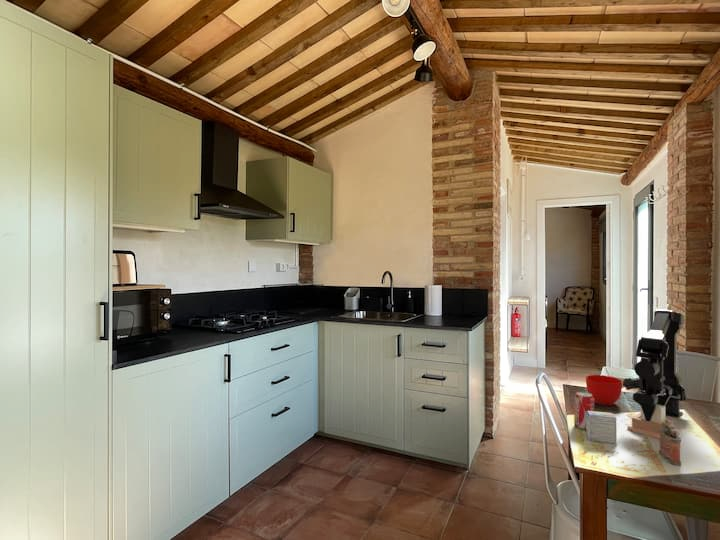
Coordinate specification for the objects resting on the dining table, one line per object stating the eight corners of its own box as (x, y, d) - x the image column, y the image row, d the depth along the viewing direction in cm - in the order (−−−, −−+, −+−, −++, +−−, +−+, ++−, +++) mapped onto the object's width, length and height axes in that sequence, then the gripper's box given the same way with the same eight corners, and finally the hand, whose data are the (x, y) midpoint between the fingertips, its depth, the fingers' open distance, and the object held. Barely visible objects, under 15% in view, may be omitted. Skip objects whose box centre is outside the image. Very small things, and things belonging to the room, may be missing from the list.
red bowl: (611, 395, 174) (611, 373, 174) (627, 409, 157) (627, 384, 157) (578, 394, 177) (578, 371, 177) (592, 407, 160) (591, 382, 160)
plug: (644, 423, 140) (644, 401, 140) (665, 429, 135) (665, 406, 135) (640, 426, 138) (640, 403, 138) (661, 432, 133) (661, 408, 133)
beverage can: (570, 424, 143) (570, 391, 143) (586, 423, 144) (586, 390, 144) (581, 431, 137) (581, 397, 137) (598, 430, 138) (598, 396, 138)
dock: (638, 422, 144) (638, 411, 144) (679, 433, 135) (679, 421, 135) (627, 429, 138) (627, 417, 138) (669, 441, 129) (669, 428, 129)
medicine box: (613, 438, 131) (612, 412, 131) (616, 444, 127) (616, 417, 127) (586, 435, 134) (586, 410, 134) (589, 440, 130) (589, 414, 130)
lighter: (684, 466, 113) (684, 431, 113) (670, 465, 114) (670, 430, 113) (668, 453, 121) (668, 420, 121) (655, 452, 121) (655, 420, 121)
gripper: (636, 364, 148) (636, 405, 148) (615, 372, 137) (615, 417, 137) (672, 370, 139) (672, 414, 139) (653, 380, 128) (653, 427, 128)
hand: (652, 417), depth 136 cm, fingers open, 9 cm apart
